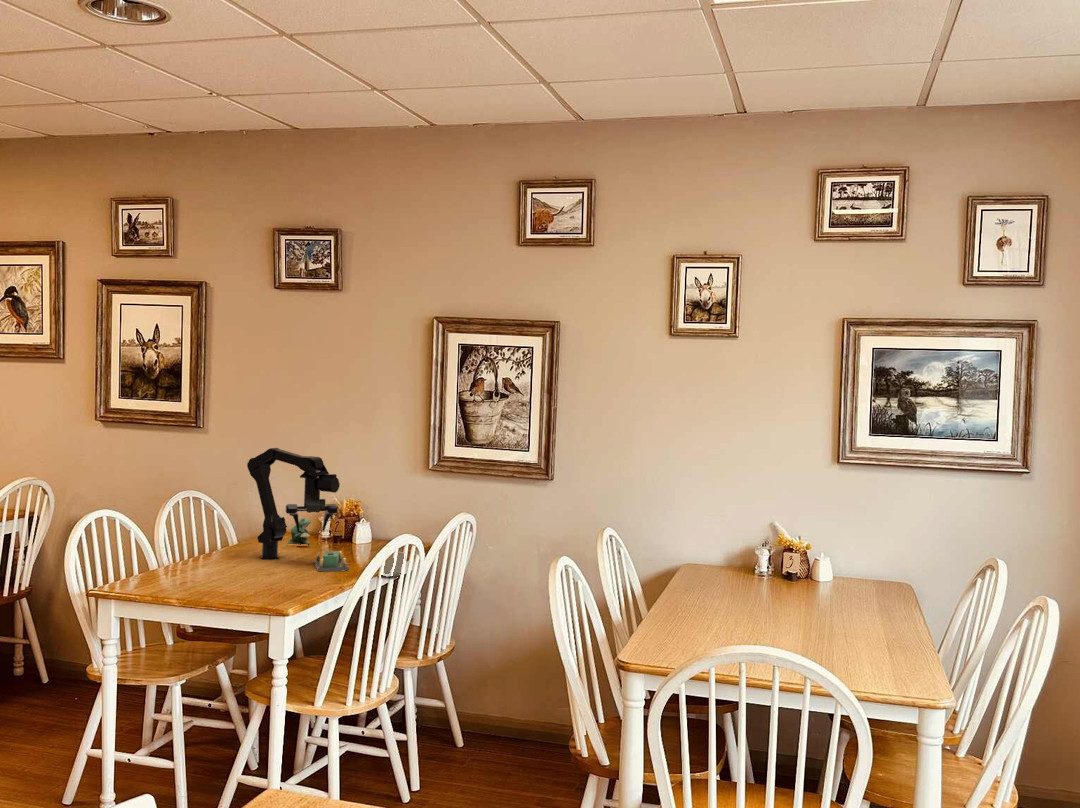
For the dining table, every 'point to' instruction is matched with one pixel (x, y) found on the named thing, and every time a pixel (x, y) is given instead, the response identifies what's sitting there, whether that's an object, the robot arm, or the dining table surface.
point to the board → (330, 558)
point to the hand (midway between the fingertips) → (310, 531)
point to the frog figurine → (300, 533)
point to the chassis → (339, 567)
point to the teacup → (390, 562)
